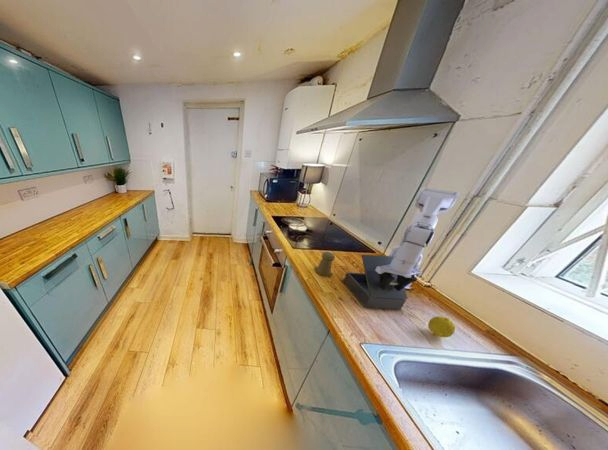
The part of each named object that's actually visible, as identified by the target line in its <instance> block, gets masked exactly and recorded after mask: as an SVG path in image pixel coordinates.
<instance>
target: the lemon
mask: <svg viewBox="0 0 608 450" xmlns="http://www.w3.org/2000/svg"><path fill="white" fill-rule="evenodd" d="M427 326H428V327H427V328H428V330H429V331H430V332H431V333H432V334H433V335H434V336H436V337H440V338H449V337H451V336H453V335H454V334H455V331H456V325H455V324H454V322H453V321H452V320H451V319H449V318H448V317H445V316H440V315H439V316H438V315H437V316H434V317H432V318H430V320H429V321H428V324H427Z"/></svg>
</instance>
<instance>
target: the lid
mask: <svg viewBox="0 0 608 450" xmlns="http://www.w3.org/2000/svg"><path fill="white" fill-rule="evenodd" d="M393 258H394V257H393V256H389V255H376V254H375V255H372V254H361V259H362V260H361V261H362V265H363V269H364V273H365V275H366V280H367V285H368V290H369V295H370V297H380V298H395V299H406V300H408V295H407V292H406V289H405V287H404V288H403V289H402V290H401V291H397V290H396V289H395V288H394V285H400V282H399V281H396V280H397V277H398V275H397V274H391V275H392V277H393V278H395V280H393V281H392V282H391V283H390V284H389V285H388V287H387V288H386V289H385V290H382V289H381V288H380V287H379V283H380V278H379V273H377V272H376V271H375V270H376V268H377V266H385V265H390V264H391V262H392V260H393Z"/></svg>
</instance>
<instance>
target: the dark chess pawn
mask: <svg viewBox="0 0 608 450" xmlns="http://www.w3.org/2000/svg"><path fill="white" fill-rule="evenodd" d="M335 259H336V256H335V254H334V253H333V252H331V251H324V252H323V253H322V254H321V260H320V262H319V264H318V265H317V268H316V269H315V272H316V273H317V274H318V275H320V276H324V277H329V276H330V275H331V269H332V263H333V261H334V260H335Z"/></svg>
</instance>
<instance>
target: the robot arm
mask: <svg viewBox="0 0 608 450" xmlns="http://www.w3.org/2000/svg"><path fill="white" fill-rule="evenodd" d="M459 196H460V193H459V191H452V190H451V191H450V190H445V189H437V188H431V187H426V186H424V187H422V188H421V189H420V191H419V193H418V195H417V198H416V200H415V203H414V207H415V208H416V209H419V213H417V214H415V215H414V217H413V219H412V221H411V223H410V224H409V226H407V227H406V228H405V230H404V232H403V234H402V236H401V240H400V242H399V245H396V246H394V247H392V249H391V251H390V252H389V254H388V256H393V257H394V258H393V260H392V262H391V264H390V265H385V266H377V268H376V270H375V271H376V272H377V273H379V278H380V283H379V287H380V288H381V289H382V290H385V289H386V288H387V287H388V285H389V284H390V283H391V282H392V281H393V280H395V278H393V277H392V275H391V274H397V275H398V277H397V280H396V281H399V282H400V285H394V288H395V289H396V290H397V291H401V290H402V289H403V288H404V287H405V290H411V289H412V287H411V285H412V283H415V282H417V281H418V278H417V277H421V276H422V275H423V271H422V270H421V269H419V266H420V264H421V262H422V259H423V258H424V257H423V252H424V250H425V248H427V247H428V246H429V245H430V243H431V242H432V240H433V238H434V236H435V232H436V229H435V228H436V226H437V224H438V222H439V217H438V216H437V215H439V214H445V213H448V211H450V210H451V209H452V208H453V207H454V205H455V204H456V202H457V200H458V199H459Z"/></svg>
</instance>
